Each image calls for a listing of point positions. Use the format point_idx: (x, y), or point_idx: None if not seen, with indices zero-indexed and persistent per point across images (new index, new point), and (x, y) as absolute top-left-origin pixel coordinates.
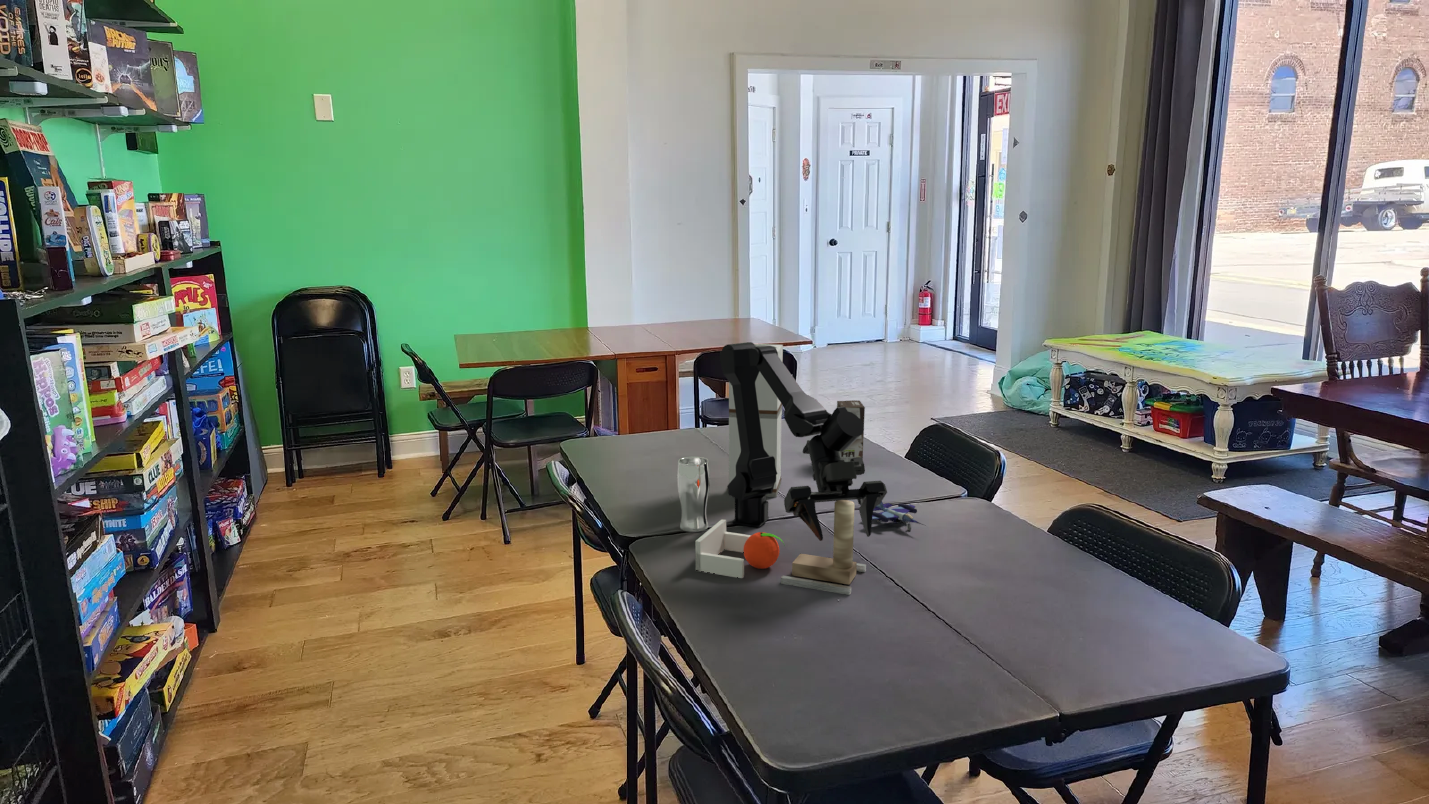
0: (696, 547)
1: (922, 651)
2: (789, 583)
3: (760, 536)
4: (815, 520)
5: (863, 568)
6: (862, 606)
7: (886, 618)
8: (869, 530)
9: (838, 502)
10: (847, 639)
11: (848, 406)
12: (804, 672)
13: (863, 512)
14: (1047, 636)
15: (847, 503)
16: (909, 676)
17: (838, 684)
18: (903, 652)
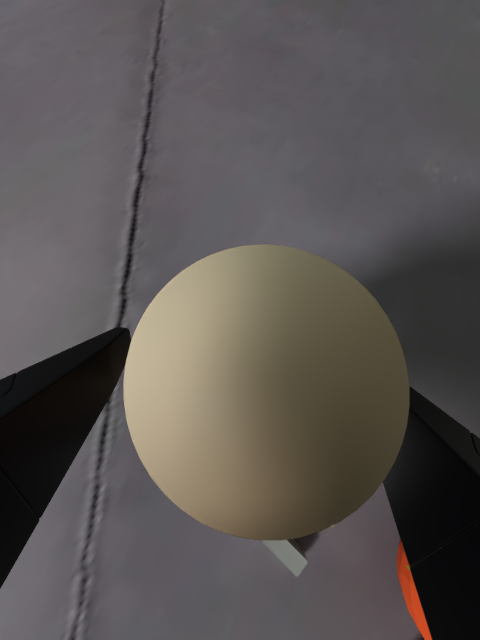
0: None
1: (247, 69)
2: None
3: None
4: (458, 435)
5: None
6: (261, 233)
7: (242, 175)
8: (111, 333)
9: (341, 432)
10: (348, 136)
11: None
12: (450, 80)
13: (15, 482)
14: (21, 41)
15: (233, 348)
16: (305, 28)
17: (411, 43)
18: (278, 76)
